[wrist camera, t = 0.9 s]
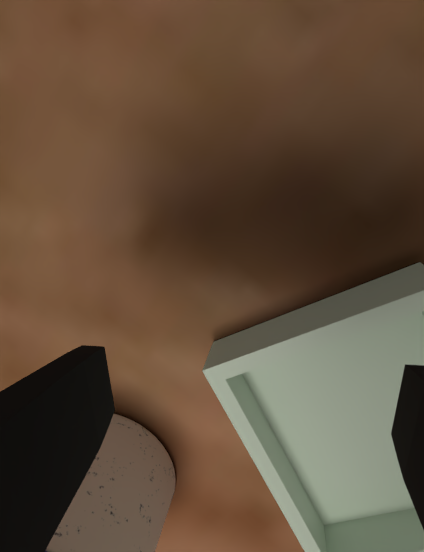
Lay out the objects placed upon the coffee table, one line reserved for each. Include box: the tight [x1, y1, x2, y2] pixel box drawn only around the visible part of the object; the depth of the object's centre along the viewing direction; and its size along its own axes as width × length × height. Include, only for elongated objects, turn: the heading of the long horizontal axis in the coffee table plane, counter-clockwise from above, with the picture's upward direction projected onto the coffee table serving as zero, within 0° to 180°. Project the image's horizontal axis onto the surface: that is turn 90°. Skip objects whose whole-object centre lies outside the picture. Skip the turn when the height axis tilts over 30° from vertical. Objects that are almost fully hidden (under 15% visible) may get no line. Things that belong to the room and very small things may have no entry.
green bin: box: [202, 262, 424, 552], centre depth 18 cm, size 14×11×3 cm
